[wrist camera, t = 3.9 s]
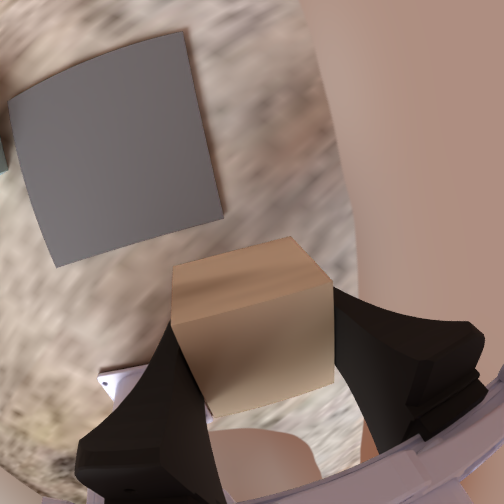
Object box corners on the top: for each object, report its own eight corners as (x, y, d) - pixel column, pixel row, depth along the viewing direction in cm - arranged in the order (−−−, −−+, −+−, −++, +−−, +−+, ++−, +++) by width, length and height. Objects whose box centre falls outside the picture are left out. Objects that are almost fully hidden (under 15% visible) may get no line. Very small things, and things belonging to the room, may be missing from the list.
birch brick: (301, 327, 15) (334, 382, 11) (204, 354, 14) (214, 418, 10) (290, 236, 12) (332, 281, 9) (173, 266, 12) (170, 325, 8)
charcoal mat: (223, 216, 19) (224, 218, 18) (58, 264, 17) (56, 268, 17) (182, 33, 14) (182, 31, 13) (11, 101, 12) (7, 101, 12)
